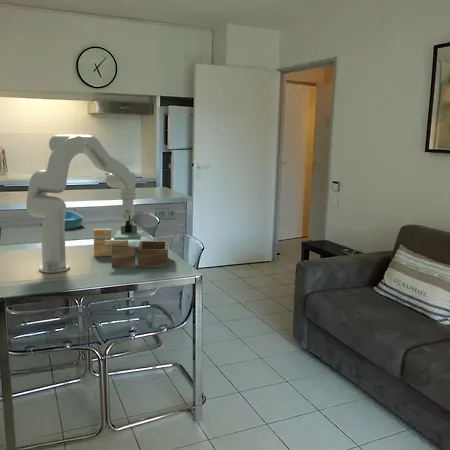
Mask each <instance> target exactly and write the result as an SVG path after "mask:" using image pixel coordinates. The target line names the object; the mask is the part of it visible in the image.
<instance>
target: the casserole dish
mask: <svg viewBox="0 0 450 450" xmlns="http://www.w3.org/2000/svg"><path fill="white" fill-rule="evenodd" d="M83 220H84V216H82V215H81V214H79V213H77V212H76V211H72V210H66V214H65V222H64V230H66V229H76V227H78V228H79V227H81V226H82V222H83ZM42 221H44V218H42Z"/></svg>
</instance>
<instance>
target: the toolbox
mask: <svg viewBox="0 0 450 450" xmlns="http://www.w3.org/2000/svg"><path fill="white" fill-rule="evenodd" d="M139 241H140V240H139ZM138 245H139V246H138V248H137V268H168V264H169V263H168V262H169V241H168V240H162V241H161V240H160V241H159V240H158V241H157V240H156V241H153V240H152V241H151V240H150V241H146V240H144V241H143V240H142V241H140V242H139V244H138ZM135 267H136V245H128V246H111V268H135Z"/></svg>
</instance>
